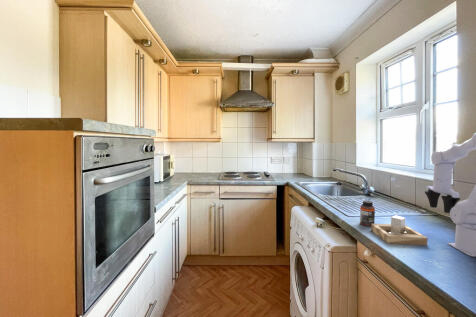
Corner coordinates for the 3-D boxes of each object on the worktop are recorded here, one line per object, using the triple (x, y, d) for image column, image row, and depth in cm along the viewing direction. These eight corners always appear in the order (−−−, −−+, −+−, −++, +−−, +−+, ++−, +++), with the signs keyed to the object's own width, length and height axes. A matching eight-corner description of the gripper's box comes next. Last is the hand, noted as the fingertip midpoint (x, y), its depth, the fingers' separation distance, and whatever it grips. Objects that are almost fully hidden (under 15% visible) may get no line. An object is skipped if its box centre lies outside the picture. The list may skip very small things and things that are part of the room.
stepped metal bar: (406, 235, 90) (407, 217, 89) (397, 239, 86) (398, 220, 86) (396, 232, 93) (397, 214, 92) (388, 236, 89) (389, 217, 89)
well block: (427, 245, 82) (427, 237, 82) (387, 243, 84) (388, 235, 83) (404, 231, 95) (405, 224, 95) (370, 230, 96) (371, 223, 96)
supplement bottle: (365, 221, 107) (366, 199, 106) (377, 225, 101) (378, 202, 101) (356, 223, 105) (357, 200, 104) (368, 227, 99) (369, 203, 99)
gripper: (468, 182, 85) (466, 215, 86) (438, 176, 99) (436, 205, 100) (449, 181, 86) (446, 215, 87) (422, 176, 100) (420, 205, 101)
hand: (440, 210), depth 94 cm, fingers open, 7 cm apart
